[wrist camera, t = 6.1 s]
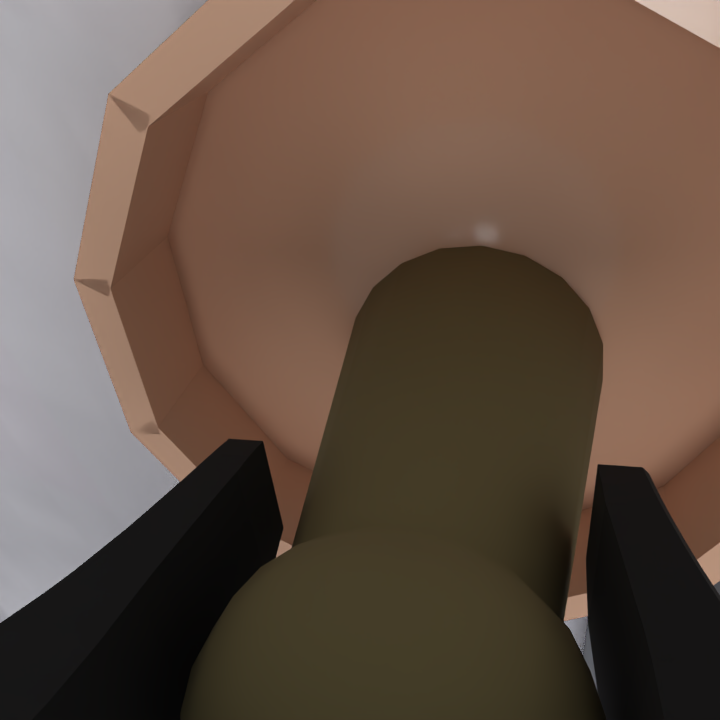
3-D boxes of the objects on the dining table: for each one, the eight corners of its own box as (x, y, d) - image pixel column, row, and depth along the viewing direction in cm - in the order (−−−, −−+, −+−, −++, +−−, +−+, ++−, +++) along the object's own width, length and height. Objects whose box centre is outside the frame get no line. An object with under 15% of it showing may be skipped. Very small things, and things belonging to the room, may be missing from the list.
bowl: (231, 497, 22) (186, 583, 19) (75, -47, 14) (-44, -33, 11) (748, 544, 19) (785, 657, 16) (971, -157, 10) (1139, -179, 7)
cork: (395, 204, 15) (117, 611, 5) (657, 308, 14) (833, 927, 5) (323, 409, 18) (75, 875, 9) (534, 497, 18) (507, 1076, 8)
